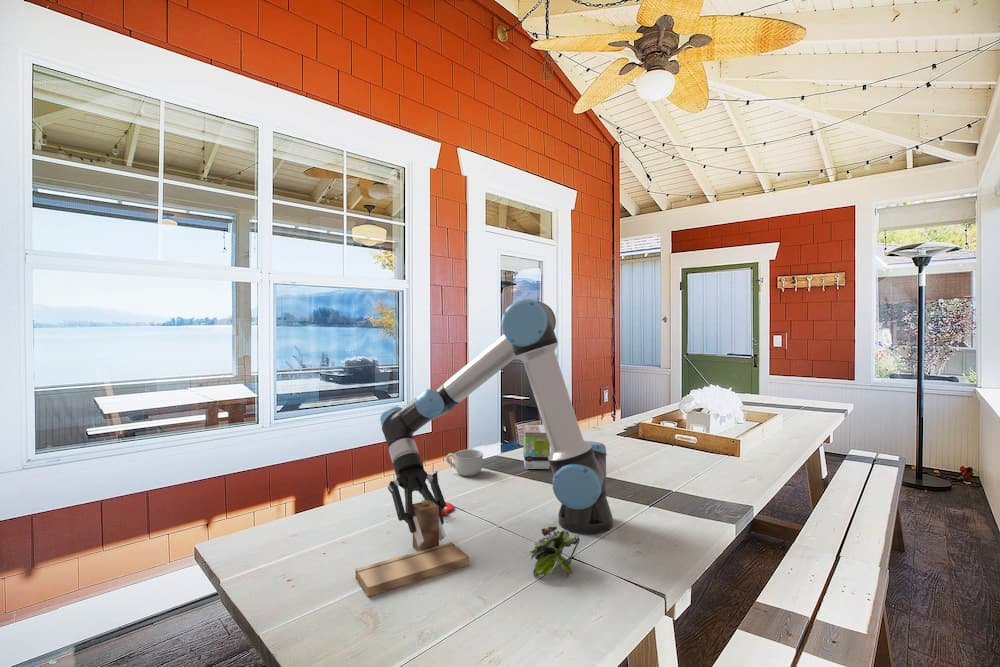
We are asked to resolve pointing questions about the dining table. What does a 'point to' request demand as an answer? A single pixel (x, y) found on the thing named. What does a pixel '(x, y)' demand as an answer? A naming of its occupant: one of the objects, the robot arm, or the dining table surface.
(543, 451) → the tea box
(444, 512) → the tow hook
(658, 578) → the dining table surface
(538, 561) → the passion flower
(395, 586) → the board
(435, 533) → the block
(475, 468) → the teacup
